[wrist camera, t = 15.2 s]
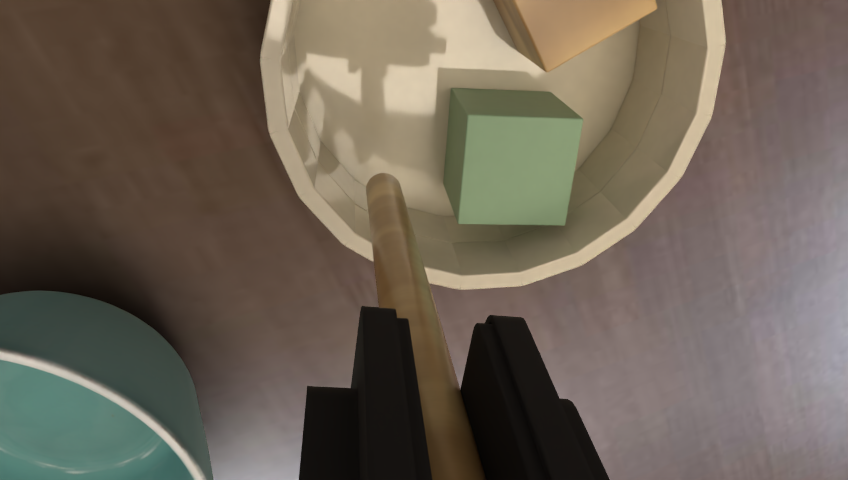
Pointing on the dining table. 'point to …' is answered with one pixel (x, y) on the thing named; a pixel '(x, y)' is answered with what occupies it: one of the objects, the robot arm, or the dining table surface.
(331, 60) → the stir bowl
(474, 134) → the sage block
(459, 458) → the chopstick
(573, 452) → the robot arm
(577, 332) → the dining table surface
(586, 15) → the maple block
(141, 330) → the bowl
